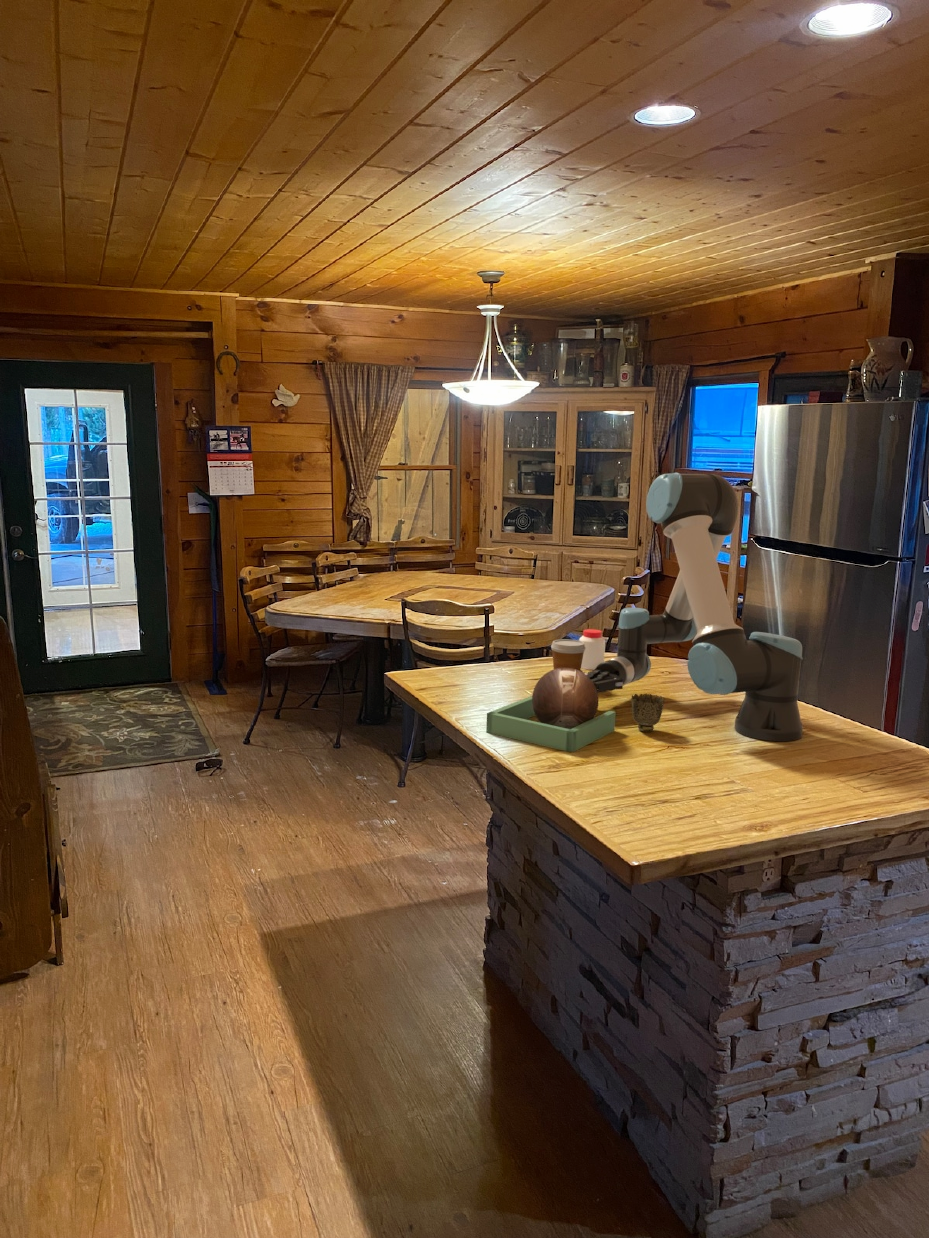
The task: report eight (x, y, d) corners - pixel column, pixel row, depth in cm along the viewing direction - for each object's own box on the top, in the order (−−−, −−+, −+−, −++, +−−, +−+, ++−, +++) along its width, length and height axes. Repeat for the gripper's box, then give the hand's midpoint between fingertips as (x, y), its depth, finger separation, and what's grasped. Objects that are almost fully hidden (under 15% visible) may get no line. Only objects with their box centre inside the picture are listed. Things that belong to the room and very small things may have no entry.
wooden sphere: (542, 743, 201) (545, 677, 198) (522, 723, 215) (525, 661, 212) (606, 741, 204) (610, 675, 202) (582, 721, 219) (586, 660, 216)
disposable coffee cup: (543, 681, 256) (545, 639, 253) (575, 680, 258) (577, 638, 256) (557, 690, 247) (559, 646, 245) (589, 688, 250) (591, 645, 247)
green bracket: (532, 712, 225) (533, 695, 224) (614, 730, 212) (615, 711, 211) (486, 732, 208) (486, 713, 207) (572, 752, 196) (573, 732, 195)
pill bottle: (607, 666, 276) (609, 630, 275) (597, 671, 270) (599, 634, 268) (584, 662, 280) (586, 627, 279) (573, 667, 274) (575, 631, 272)
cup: (661, 736, 209) (664, 702, 207) (629, 733, 210) (631, 700, 209) (661, 727, 216) (664, 694, 214) (629, 724, 217) (632, 692, 216)
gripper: (635, 692, 232) (590, 712, 213) (590, 683, 239) (543, 702, 220) (637, 663, 230) (592, 681, 212) (592, 655, 238) (544, 671, 219)
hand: (567, 692), depth 216 cm, fingers closed
